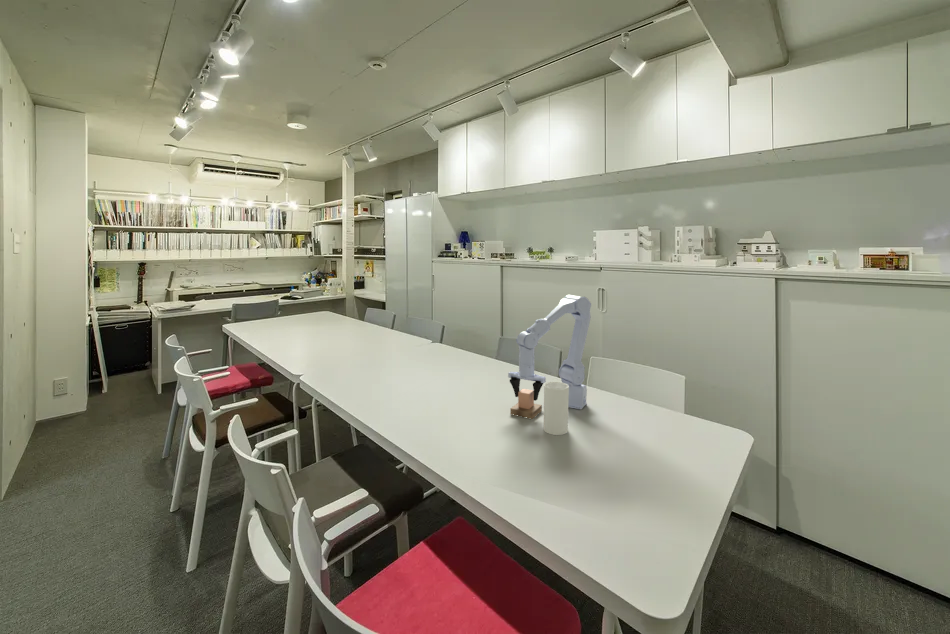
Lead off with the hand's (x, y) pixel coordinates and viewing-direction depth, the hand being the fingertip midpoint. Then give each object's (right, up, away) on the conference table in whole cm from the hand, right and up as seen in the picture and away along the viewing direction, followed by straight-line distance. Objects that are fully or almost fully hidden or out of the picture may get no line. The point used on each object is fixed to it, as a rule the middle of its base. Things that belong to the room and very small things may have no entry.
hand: (526, 398), depth 154 cm
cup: (+8, -8, -14) cm, 19 cm away
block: (0, -3, +1) cm, 3 cm away
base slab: (0, -6, +1) cm, 6 cm away
